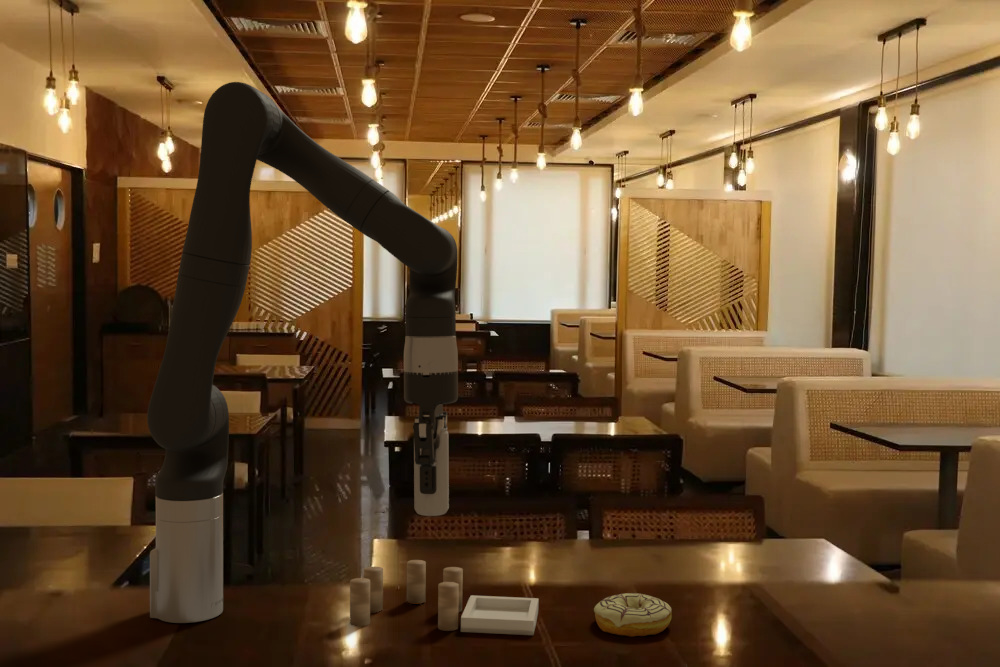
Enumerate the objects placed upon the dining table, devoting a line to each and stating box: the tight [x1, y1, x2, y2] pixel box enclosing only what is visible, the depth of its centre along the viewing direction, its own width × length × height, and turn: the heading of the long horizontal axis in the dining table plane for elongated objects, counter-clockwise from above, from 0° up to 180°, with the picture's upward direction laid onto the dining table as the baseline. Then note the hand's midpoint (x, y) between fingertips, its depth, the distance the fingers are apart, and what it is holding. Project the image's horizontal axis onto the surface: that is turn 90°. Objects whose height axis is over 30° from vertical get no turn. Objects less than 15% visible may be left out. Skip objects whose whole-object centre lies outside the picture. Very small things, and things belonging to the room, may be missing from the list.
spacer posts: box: [349, 559, 464, 632], centre depth 147 cm, size 15×13×6 cm
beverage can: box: [413, 426, 450, 517], centre depth 142 cm, size 5×5×12 cm
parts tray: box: [460, 594, 540, 636], centre depth 144 cm, size 10×10×2 cm
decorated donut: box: [593, 592, 673, 638], centre depth 143 cm, size 10×11×4 cm
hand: (431, 488), depth 142 cm, fingers closed on beverage can, 4 cm apart
